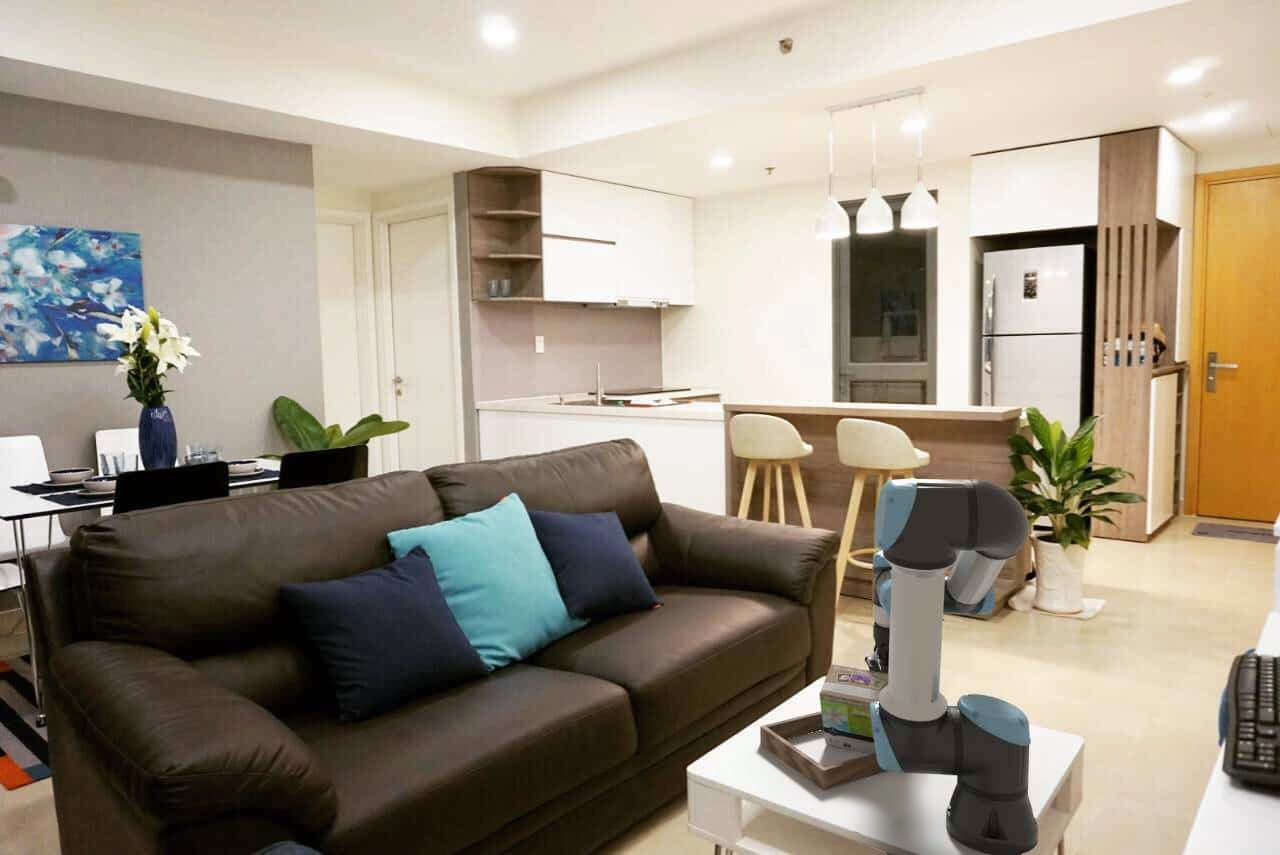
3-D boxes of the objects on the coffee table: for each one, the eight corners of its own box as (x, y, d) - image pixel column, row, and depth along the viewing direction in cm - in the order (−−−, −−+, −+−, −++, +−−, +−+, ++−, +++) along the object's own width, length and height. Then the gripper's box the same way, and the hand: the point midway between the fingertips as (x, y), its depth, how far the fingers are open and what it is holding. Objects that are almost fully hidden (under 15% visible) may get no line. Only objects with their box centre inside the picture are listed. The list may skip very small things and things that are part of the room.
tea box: (824, 746, 186) (817, 692, 180) (836, 714, 194) (829, 661, 188) (895, 760, 179) (890, 705, 173) (904, 726, 187) (900, 672, 181)
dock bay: (910, 764, 177) (910, 745, 177) (823, 790, 168) (823, 770, 167) (841, 723, 197) (841, 706, 196) (760, 743, 187) (760, 726, 187)
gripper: (902, 612, 192) (902, 712, 195) (856, 622, 187) (857, 725, 190) (926, 622, 186) (926, 725, 188) (879, 633, 180) (879, 739, 183)
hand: (891, 725), depth 189 cm, fingers closed
